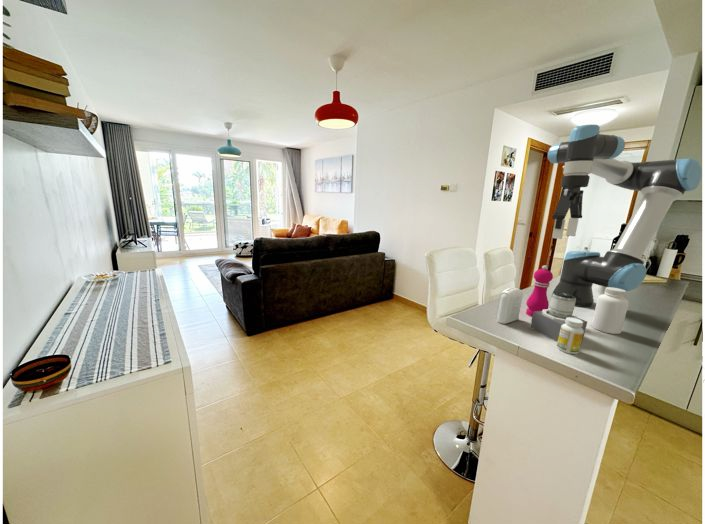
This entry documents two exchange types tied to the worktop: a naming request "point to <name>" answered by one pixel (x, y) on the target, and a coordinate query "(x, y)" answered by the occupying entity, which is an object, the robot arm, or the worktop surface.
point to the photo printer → (509, 305)
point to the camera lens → (562, 305)
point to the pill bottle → (610, 311)
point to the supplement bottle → (570, 336)
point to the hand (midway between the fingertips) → (563, 237)
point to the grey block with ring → (550, 324)
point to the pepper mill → (539, 291)
